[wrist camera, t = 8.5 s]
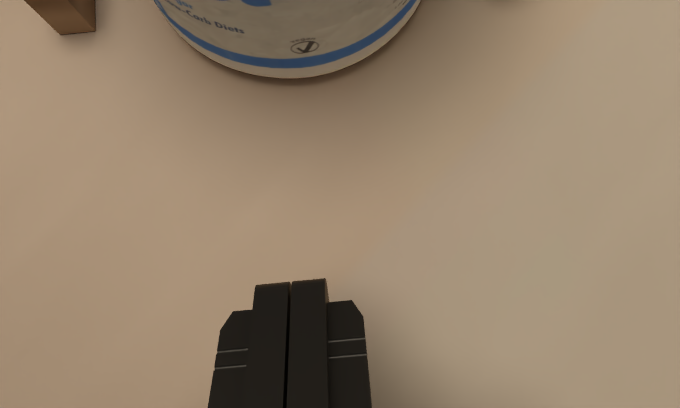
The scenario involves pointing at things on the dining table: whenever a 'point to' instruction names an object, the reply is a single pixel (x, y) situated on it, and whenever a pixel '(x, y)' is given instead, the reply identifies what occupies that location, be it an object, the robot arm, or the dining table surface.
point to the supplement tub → (287, 32)
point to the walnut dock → (66, 14)
